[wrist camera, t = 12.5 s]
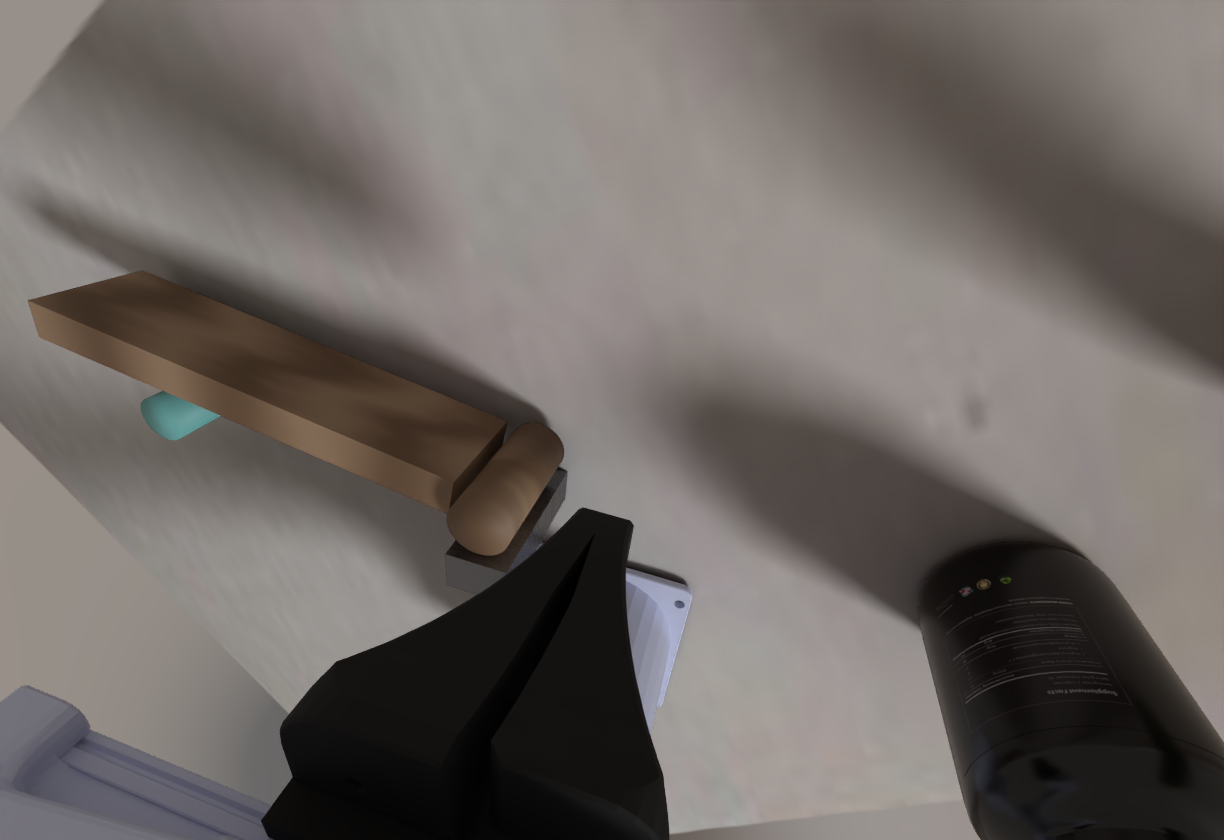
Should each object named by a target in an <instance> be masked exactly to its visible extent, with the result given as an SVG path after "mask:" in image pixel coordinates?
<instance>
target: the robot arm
mask: <svg viewBox="0 0 1224 840" xmlns="http://www.w3.org/2000/svg"><path fill="white" fill-rule="evenodd" d="M633 527H634V525H633V524H632V522H631V521H630V520H626V519H623V518H619V517H615V516H612V515H608V514H605V513H601V512H598V511H594V510H590V509H587V508H581V509H579V510H578V511H577V512H576V513H575V514H574V515H573V516H572V517H571V518H570V519H569V520H568V521H567V522H566V523H565V524H564V525H563V526H562V527H561V528H560V529H559V530H558V531H557V532H556V533H555V534H554V535H553V536H552V537H551V538H550V539H549V540H548V541H546V542H545V543H540V544H539V545H538V547H537V549H536V551H535V552H534V553H533V554H531V555H530V556H529V557H528V558H527V559H525V560H524V561H523V562H522V563H520V564H519V565H518V566H517V567H515V568H514V569H513V570H511V571H510V572H509V573H507V574H506V575H505V576H504V577H502V578H501V579H500V580H498V581H497V582H495V583H494V584H492V585H491V586H490V587H488V588H487V589H485V590H484V591H482V592H481V593H479V594H477V595H476V596H474V597H473V598H471V599H470V600H468V601H466V602H465V603H463V604H461V605H460V606H458V607H456V608H454V609H453V610H451V611H449V612H448V613H446V614H444V615H442V616H440V617H439V618H437V619H435V620H433V621H431V622H429V623H427V624H425V625H423V626H421V627H419V628H417V629H414V630H412V631H410V632H408V633H406V634H404V635H402V636H400V637H398V638H395V639H393V640H391V641H389V642H386V643H384V644H382V645H379V646H377V647H374V648H371V649H369V650H366V651H364V652H361V653H358V654H356V655H353V656H351V657H348V658H345V659H342V660H340V661H337V662H335V663H334V665H333V666H332V667H331V668H330V669H329V670H328V671H327V672H326V673H325V674H324V675H323V676H321V677H320V678H319V680H318V681H317V682H316V683H315V684H314V685H313V686H312V687H311V688H310V689H309V691H308V692H307V693H306V694H305V696H304V697H303V698H302V699H301V700H300V702H299V703H298V704H297V705H296V707H295V708H294V709H293V710H292V711H291V713H290V714H289V715H288V716H287V718H286V719H285V720H284V721H283V723H282V725H281V728H280V737H281V743H282V747H283V750H284V753H285V756H286V759H287V761H288V764H289V767H290V770H291V773H292V776H293V778H292V779H291V780H290V782H289V783H288V785H287V786H286V787H285V789H284V790H283V791H282V793H281V794H280V795H279V797H278V798H277V800H276V801H275V802H274V803H273V805H270V804H268V803H265V802H263V801H260V800H258V799H255V798H253V797H251V796H248V795H246V794H243V793H241V792H239V791H236V790H234V789H232V788H229V787H227V786H224V785H222V784H220V783H217V782H215V781H212V780H210V779H208V778H205V777H203V776H200V775H198V774H196V773H193V772H191V771H188V770H186V769H184V768H181V767H179V766H176V765H174V764H172V763H169V762H167V761H164V760H162V759H160V758H157V757H155V756H152V755H150V754H148V753H145V752H143V751H140V750H138V749H135V748H133V747H131V746H128V745H126V744H124V743H121V742H119V741H117V740H114V739H112V738H109V737H107V736H105V735H102V734H100V733H97V732H95V731H92V730H90V725H89V723H88V721H87V719H86V717H85V716H84V715H83V714H82V712H81V711H80V710H79V709H77V708H76V707H74V706H73V705H72V704H70V703H68V702H67V701H65V700H62V699H60V698H57V697H55V696H52V695H50V694H48V693H45V692H43V691H40V690H38V689H35V688H33V687H31V686H21V687H20V688H18V689H17V690H16V691H14V692H13V693H12V694H10V695H9V696H8V697H6V698H5V699H4V700H3V701H1V702H0V840H669V822H668V812H667V803H666V795H665V788H664V777H663V773H662V770H661V767H660V764H659V761H658V758H657V755H656V752H655V749H654V746H653V742H652V739H651V736H650V735H651V731H652V726H653V722H654V717H655V713H656V708H658V707H660V706H661V705H662V703H663V699H664V696H665V692H666V689H667V685H668V682H669V678H670V674H671V671H672V667H673V664H674V660H675V657H676V653H677V650H678V646H679V643H680V639H681V636H682V632H683V629H684V625H685V622H686V618H687V615H688V611H689V608H690V604H691V601H692V596H693V592H692V590H691V588H689V587H688V586H686V585H684V584H681V583H677V582H674V581H670V580H667V579H664V578H660V577H657V576H653V575H650V574H647V573H643V572H640V571H636V570H633V569H630V568H626V565H627V559H628V554H629V549H630V543H631V538H632V533H633ZM677 600H679V601H682V602H679V601H677Z"/></svg>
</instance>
